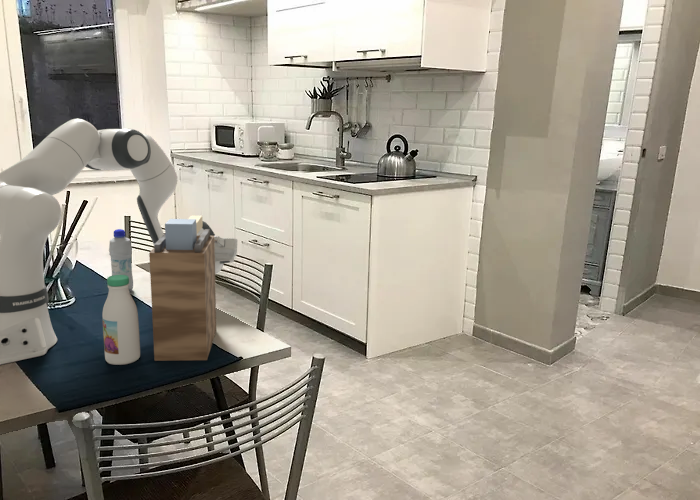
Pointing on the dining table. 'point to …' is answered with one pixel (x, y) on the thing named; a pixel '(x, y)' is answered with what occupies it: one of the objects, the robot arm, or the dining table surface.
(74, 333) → the dining table surface
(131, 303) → the milk bottle
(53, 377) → the dining table surface
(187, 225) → the block with handle
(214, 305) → the walnut stand
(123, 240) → the bottle
